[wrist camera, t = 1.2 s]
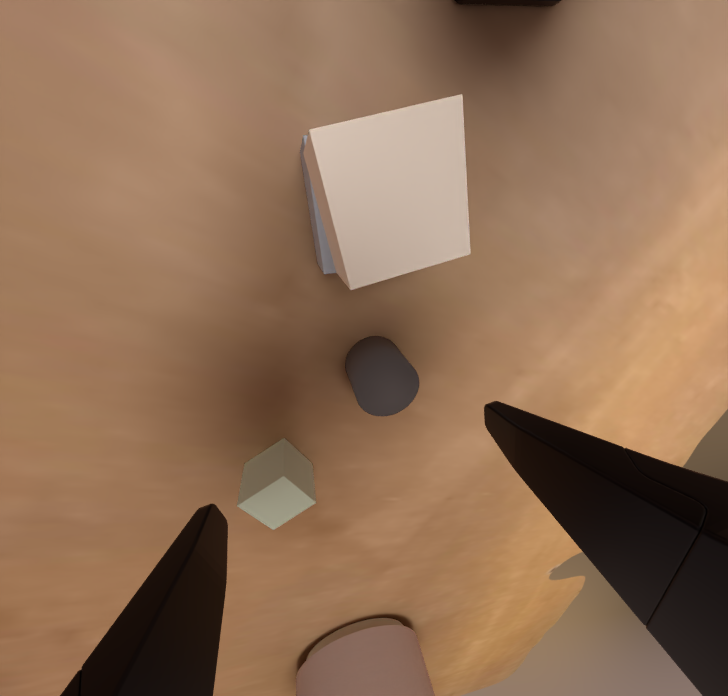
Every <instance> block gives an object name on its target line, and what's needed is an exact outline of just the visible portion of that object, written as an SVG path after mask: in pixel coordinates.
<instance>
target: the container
mask: <svg viewBox="0 0 728 696" xmlns="http://www.w3.org/2000/svg"><path fill="white" fill-rule="evenodd" d="M296 696H435V694H434V691H433V688H432V684H431V681H430V678H429V675H428V671H427V668H426V665H425V661H424V658H423V655H422V652H421V648H420V645H419V642H418V638H417V635H416V633H415V632H414V631H413V630H412V629H410V628H408V627H405V626H403V624H402V623H401V622H399V621H397V620H395V619H390V618H374V619H368V620H364V621H360V622H357V623H354V624H351V625H348V626H346V627H343V628H341V629H339V630H337V631H335V632H333V633H332V634H330V635H328V636H327V637H325V638H324V639H323V640H321V641H320V642H319V643H318V644H317V645H316V646H314V648H313V649H312V650H311V651H310V653H309V654H308V656H307V660H306V662H305V663H304V664H303V665H302V666H301V668H300V669H299V671H298V673H297V676H296Z"/></svg>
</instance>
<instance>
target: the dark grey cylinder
mask: <svg viewBox="0 0 728 696" xmlns="http://www.w3.org/2000/svg"><path fill="white" fill-rule="evenodd" d="M345 368H346V372H347V374H348V377H349V380H350V382H351V385H352V388H353V391H354V393H355V396H356V399H357V401H358V404H359V405H360V407H361V408H362V409H363V410H364V411H365V412H367V413H369V414H371V415H375V416H389V415H393V414H395V413H398V412H400V411H402V410H403V409H405V408H406V407H407V406H408V405H409V404H410V403H411V402H412V401H413V399H414V398H415V396H416V394H417V392H418V388H419V377H418V374H417V372H416V370H415V369H414V368H413V366H412V365H411V364H410V363H409V362H408V360H407V359H406V358H405V357H404V355H403V354H402V353H401V352H400V351H399V349H398V348H397V347H396V346H395V344H394V343H393V342H391V341H390V340H389V339H387V338H384V337H379V336H372V337H367V338H365V339H362V340H360V341H359V342H357V343H356V344H355V345H354V346H353V347H352V348H351V349H350V351H349V353H348V354H347V357H346V362H345Z"/></svg>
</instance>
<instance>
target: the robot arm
mask: <svg viewBox="0 0 728 696" xmlns="http://www.w3.org/2000/svg"><path fill="white" fill-rule="evenodd" d="M455 1H456V2H457V3H459V4H483V5H534V6H554V5H556V4H557V3H559V2H560V1H561V0H455ZM484 418H485V426H486V428H487V430H488V431H489V433H490V434H491V436H492V437H493V439H494V440H495V442H496V443H497V445H498V446H499V448H500V449H501V451H502V452H503V454H504V455H505V457H506V458H507V459H508V461H509V462H510V464H511V465H512V467H513V468H514V469H515V471H516V472H517V473H518V474H519V476H520V477H521V478H522V479H523V480H524V482H525V483H526V484H527V485H528V486H529V488H530V489H531V490H532V491H533V492H534V494H535V495H536V496H537V497H538V498H539V500H540V501H541V502H542V503H543V504H544V506H545V507H546V508H547V509H548V510H549V512H550V513H551V514H552V515H553V516H554V518H555V519H556V520H557V521H558V522H559V524H560V525H561V526H562V527H563V528H564V530H565V531H566V532H567V533H568V534H569V536H570V537H571V538H572V539H573V540H574V542H575V543H576V544H577V545H578V546H579V548H580V549H581V550H582V551H583V552H584V554H585V555H586V556H587V557H588V558H589V560H590V561H591V562H592V563H593V564H594V566H595V567H596V568H597V569H598V570H599V572H600V573H601V574H602V575H603V576H604V578H605V579H606V580H607V581H608V582H609V584H610V585H611V586H612V587H613V588H614V590H615V591H616V592H617V593H618V594H619V596H620V597H621V598H622V599H623V600H624V602H625V603H626V604H627V605H628V606H629V607H630V609H631V610H632V611H633V612H634V614H635V615H636V616H637V617H638V618H639V620H640V621H641V622H642V623H643V624H644V625H646V628H647V630H648V631H649V632H650V633H651V634H652V636H653V637H654V638H655V639H656V640H657V641H658V643H659V644H660V645H661V646H662V647H663V649H664V650H665V651H666V652H667V654H668V655H669V656H670V657H671V658H672V660H673V661H674V662H675V663H676V664H677V666H678V667H679V668H680V669H681V670H682V672H683V673H684V674H685V675H686V676H687V678H688V679H689V680H690V681H691V682H692V683H693V685H694V686H695V687H696V688H697V689H698V691H699V692H700V693H701V694H702V696H728V482H727V481H724V480H721V479H718V478H714V477H711V476H708V475H705V474H701V473H698V472H695V471H692V470H689V469H686V468H682V467H679V466H676V465H673V464H670V463H667V462H664V461H661V460H658V459H655V458H653V457H650V456H647V455H644V454H641V453H638V452H636V451H633V450H630V449H627V448H623V447H622V446H619V445H616V444H614V443H611V442H608V441H605V440H603V439H600V438H597V437H594V436H592V435H589V434H586V433H583V432H581V431H578V430H575V429H572V428H570V427H567V426H564V425H562V424H559V423H556V422H553V421H551V420H548V419H545V418H542V417H540V416H537V415H534V414H531V413H529V412H526V411H523V410H520V409H518V408H515V407H512V406H509V405H507V404H504V403H501V402H498V401H494V402H491V403H488V404H486V405H485V407H484ZM227 540H228V524H227V520H226V518H225V517H224V515H223V514H222V513H221V511H220V510H219V509H218V508H217V506H216V505H215V504H209V505H206V506H204V507H201V508H199V509H198V510H197V511H196V512H195V514H194V515H193V516H192V518H191V519H190V520H189V522H188V523H187V525H186V526H185V527H184V529H183V530H182V531H181V533H180V534H179V535H178V537H177V538H176V539H175V541H174V542H173V544H172V545H171V546H170V548H169V549H168V550H167V552H166V553H165V554H164V556H163V557H162V558H161V560H160V561H159V562H158V564H157V565H156V567H155V568H154V569H153V571H152V572H151V573H150V575H149V576H148V577H147V579H146V580H145V581H144V583H143V584H142V586H141V587H140V588H139V590H138V591H137V592H136V594H135V595H134V596H133V598H132V599H131V600H130V602H129V603H128V605H127V606H126V607H125V609H124V610H123V611H122V613H121V614H120V615H119V617H118V618H117V619H116V621H115V622H114V623H113V625H112V626H111V628H110V629H109V630H108V632H107V633H106V634H105V636H104V637H103V638H102V640H101V641H100V642H99V644H98V645H97V647H96V648H95V649H94V651H93V652H92V653H91V655H90V656H89V657H88V659H87V660H86V661H85V663H84V664H83V666H82V670H79V671H78V672H77V673H76V675H75V676H74V678H73V679H72V680H71V682H70V683H69V684H68V686H67V687H66V688H65V690H64V691H63V692H62V694H61V695H60V696H213V690H214V682H215V674H216V665H217V657H218V649H219V641H220V632H221V624H222V616H223V608H224V600H225V591H226V579H227Z"/></svg>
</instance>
